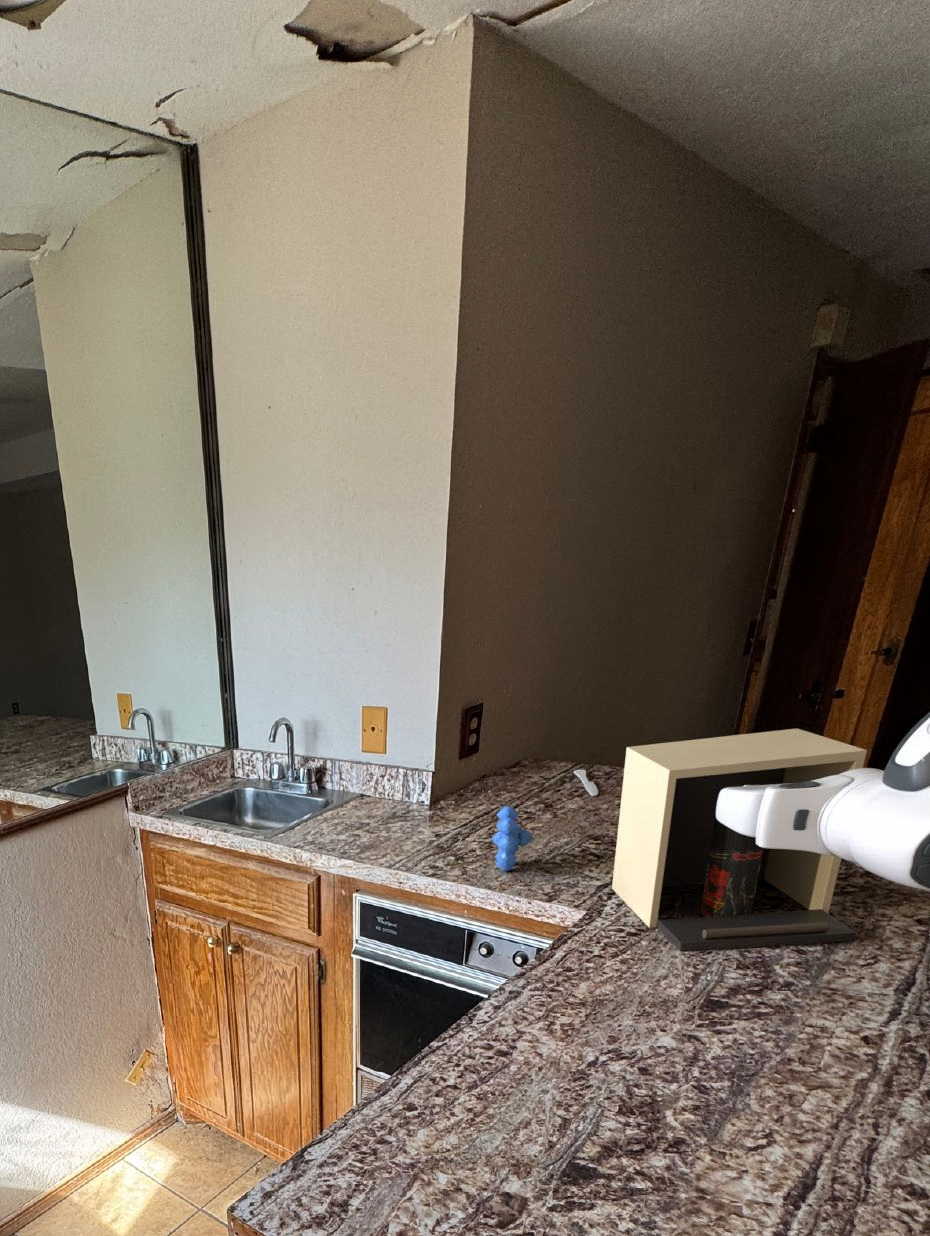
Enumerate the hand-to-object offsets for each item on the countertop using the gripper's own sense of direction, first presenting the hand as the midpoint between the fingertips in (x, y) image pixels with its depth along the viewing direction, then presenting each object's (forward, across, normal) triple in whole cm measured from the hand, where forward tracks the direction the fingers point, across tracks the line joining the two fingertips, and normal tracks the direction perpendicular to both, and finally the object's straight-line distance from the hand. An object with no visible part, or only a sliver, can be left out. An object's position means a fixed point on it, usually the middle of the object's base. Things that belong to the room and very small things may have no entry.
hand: (793, 788), depth 92 cm
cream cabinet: (+12, 0, +20) cm, 23 cm away
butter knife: (+90, 0, +16) cm, 91 cm away
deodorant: (+12, 0, +20) cm, 23 cm away
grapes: (+35, +24, +20) cm, 47 cm away
